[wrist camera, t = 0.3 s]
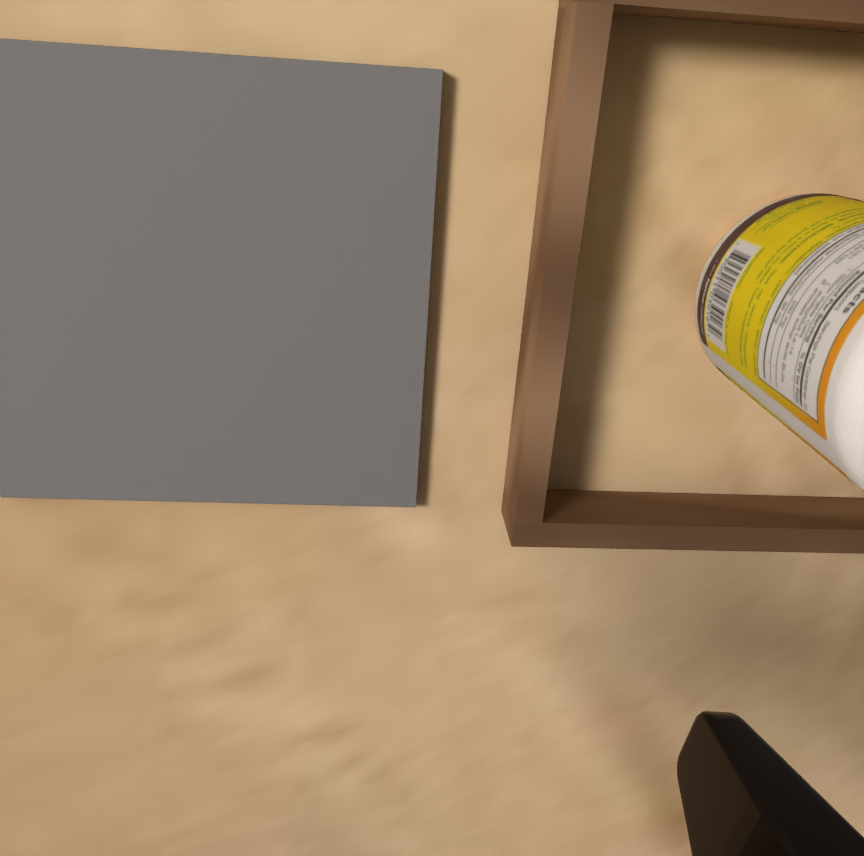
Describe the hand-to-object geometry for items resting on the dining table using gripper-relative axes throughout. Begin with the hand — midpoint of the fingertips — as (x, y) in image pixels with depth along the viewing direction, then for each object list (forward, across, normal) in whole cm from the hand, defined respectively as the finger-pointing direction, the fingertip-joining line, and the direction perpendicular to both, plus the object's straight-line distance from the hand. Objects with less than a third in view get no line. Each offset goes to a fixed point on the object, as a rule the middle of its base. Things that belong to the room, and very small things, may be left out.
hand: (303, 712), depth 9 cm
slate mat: (+14, +4, +1) cm, 15 cm away
